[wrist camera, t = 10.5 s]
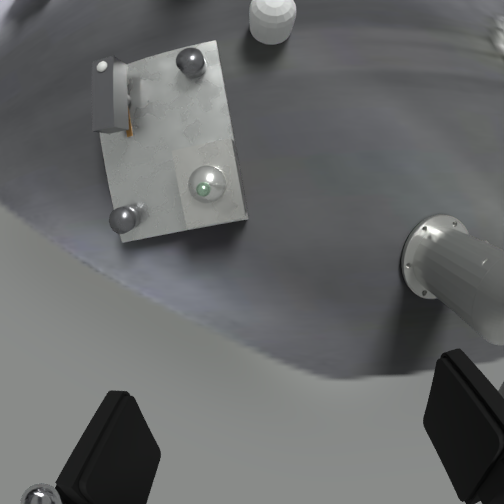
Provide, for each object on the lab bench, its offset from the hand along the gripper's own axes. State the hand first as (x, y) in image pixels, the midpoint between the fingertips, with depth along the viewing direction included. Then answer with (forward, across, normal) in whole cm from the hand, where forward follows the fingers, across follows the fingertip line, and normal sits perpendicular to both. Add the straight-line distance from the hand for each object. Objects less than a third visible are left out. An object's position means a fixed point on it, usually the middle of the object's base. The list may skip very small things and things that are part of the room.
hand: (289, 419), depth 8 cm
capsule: (+32, -4, -25) cm, 41 cm away
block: (+29, +15, -18) cm, 37 cm away
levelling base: (+32, +11, -12) cm, 36 cm away
